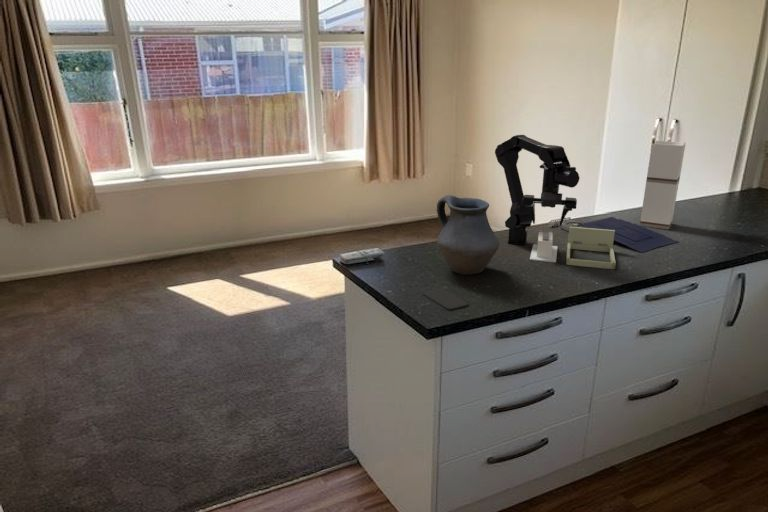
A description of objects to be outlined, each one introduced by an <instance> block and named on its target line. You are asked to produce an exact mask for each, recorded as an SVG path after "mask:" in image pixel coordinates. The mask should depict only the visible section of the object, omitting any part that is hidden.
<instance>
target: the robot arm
mask: <svg viewBox="0 0 768 512" xmlns="http://www.w3.org/2000/svg"><path fill="white" fill-rule="evenodd" d="M522 150H524V151H527V152H529V153H531V154H534V155H536V156H537V157H538V158H539V160H540V161H541V162H543V163H542V164H541V165H539V168H540V169H543V173H542V174H543V177H542V186H541V192H540V193H541V194H540V197H535V195H534V194H524V191H523V188H522V187H523V186H522V183H521V178H520V174H519V170H518V166H517V165H518V162H519V158H520V155H519V153H520V152H522ZM494 155H495V158H496V160H497V162H498V164H499V165H500V166H501V167H502V169H503V172H504V176H505V179H506V185H507V188H508V191H509V196H510V197H509V198H510V201H511V207H510V209H509V217H508V218H507V219H506V220H505V221H504V224H505V225H504V226H505V228H507V229H508V237H507V238H508V241H507V244H509V245H510V244H511V245H521V246H524V245H525V244H526V243H527V242H528V232H529V231H528V230H527V228H530V227H531V225H532V224H533V225H535V224H536V208H535V206H536V204H540V206H541V207H542V208H547V207H549V208H553V209H554V208H555V207H556V205H558V206H563V207H562V212H561V217H560V219H561V220H560V226H561V224H562V222H563V220H564V218H566V217H567V216H566V215H567V214H568V213H569V212H571V211H573V210H574V209H575V210H576V209H577V205H578V204H577V203H578V199H577V198H576V197H568V196H566V197H565V198H564V199H563V193H561V192H560V193H559V191H560V186H563V187H564V186H565V187H567V188H572V189H573V188H575V187H577V186H578V184H579V181H580V174H579V173H578V171H577V167H576V166H571V164H570V161H569V159H568V155H567V154H566V151H565V148H564V147H563V146H561V145H555V144H545V143H543V142H541V141H538V140H536V139H533V138H530V137H528V136H527V135H525V134H515V135H513V136H511V137H510V138H509V139H508V140H505V141H503V142H501V144H498V145H497V146H496V148H495V150H494ZM564 221H565V220H564Z"/></svg>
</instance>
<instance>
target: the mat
mask: <svg viewBox="0 0 768 512" xmlns="http://www.w3.org/2000/svg"><path fill="white" fill-rule="evenodd" d="M537 247H538V243H533V244H532V249H531V252H530V257H529V260H530V261H534V262H535V261H536V262H546V263H556V262H557V256H558V247H559V246H557V245H552V254H551V258H545V257H537Z"/></svg>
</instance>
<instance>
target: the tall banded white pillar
mask: <svg viewBox="0 0 768 512" xmlns="http://www.w3.org/2000/svg"><path fill="white" fill-rule="evenodd" d="M685 149H686V142H680V141H667V140H666V141H665V140H655V143H654V142H653V143H651V148H650V153H649V159H648V161H649V162H648V167H647V176H646V181H645V187H644V195H643V199H642V206H641V207H642V209H641V215H640V219H639V222H640V223H639V226H642V227H645V228H646V227H647V228H652V229H653V228H655V229H661V230H668V229H669V230H670V228H671V227H672V225H673V221H674V220H673V218H674V212H675V207H676V201H677V195H678V189H679V184H680V179H681V173H682V167H683V161H684V157H685V156H684V155H685ZM671 224H672V225H671ZM670 226H671V227H670Z"/></svg>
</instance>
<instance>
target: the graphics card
mask: <svg viewBox="0 0 768 512" xmlns="http://www.w3.org/2000/svg"><path fill="white" fill-rule="evenodd" d="M560 220H561V218H558V219H557V218H555V219H551V220H549V221H548V224H549V225H548V228H552V226H553V228H557V229H560V230H565V231H566V232H569V227H581V228H585V227H586V226H583V225H581V224H583V222H580V221H577V220H574V219H572V218H571V217H570V216H569V217H565V218H564V220H563V222H562V224H561V226H560ZM557 226H558V227H557Z"/></svg>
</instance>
